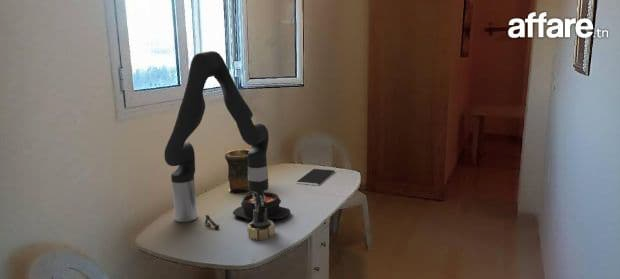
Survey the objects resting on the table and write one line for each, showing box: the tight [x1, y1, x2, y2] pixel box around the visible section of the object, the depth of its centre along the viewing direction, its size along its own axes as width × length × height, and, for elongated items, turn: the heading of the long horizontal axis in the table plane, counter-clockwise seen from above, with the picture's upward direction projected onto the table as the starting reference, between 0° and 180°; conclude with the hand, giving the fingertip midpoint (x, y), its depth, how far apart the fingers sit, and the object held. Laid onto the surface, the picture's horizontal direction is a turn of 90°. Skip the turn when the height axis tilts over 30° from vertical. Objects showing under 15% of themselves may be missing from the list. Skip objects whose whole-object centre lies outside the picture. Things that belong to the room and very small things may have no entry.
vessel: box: [224, 148, 253, 196], centre depth 220 cm, size 14×14×20 cm
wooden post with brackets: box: [204, 214, 220, 230], centre depth 177 cm, size 2×8×4 cm, turn 49°
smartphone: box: [295, 168, 336, 187], centre depth 240 cm, size 13×27×2 cm, turn 158°
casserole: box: [232, 191, 291, 221], centre depth 186 cm, size 25×19×8 cm
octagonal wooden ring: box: [246, 219, 276, 241], centre depth 168 cm, size 10×10×4 cm
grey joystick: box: [252, 208, 269, 228], centre depth 167 cm, size 6×6×6 cm
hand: (260, 220), depth 167 cm, fingers closed on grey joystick, 1 cm apart
